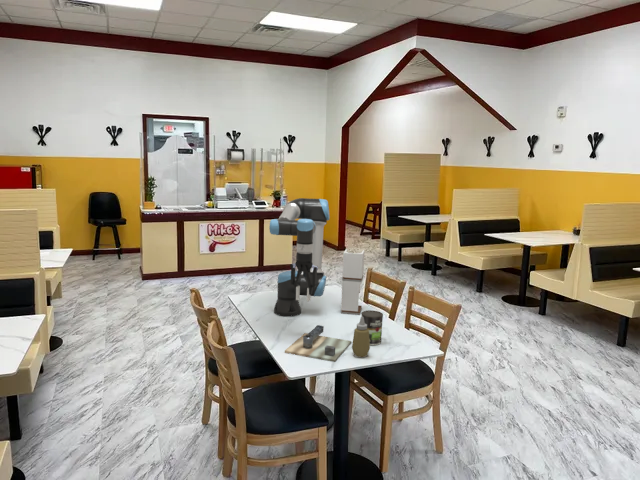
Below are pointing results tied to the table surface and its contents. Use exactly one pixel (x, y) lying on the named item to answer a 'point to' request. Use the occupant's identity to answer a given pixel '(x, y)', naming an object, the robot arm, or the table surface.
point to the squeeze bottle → (361, 339)
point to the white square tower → (352, 282)
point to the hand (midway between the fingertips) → (303, 300)
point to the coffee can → (373, 325)
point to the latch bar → (312, 336)
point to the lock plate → (320, 348)
